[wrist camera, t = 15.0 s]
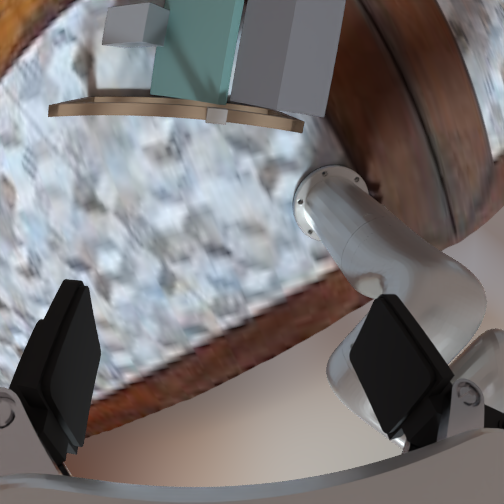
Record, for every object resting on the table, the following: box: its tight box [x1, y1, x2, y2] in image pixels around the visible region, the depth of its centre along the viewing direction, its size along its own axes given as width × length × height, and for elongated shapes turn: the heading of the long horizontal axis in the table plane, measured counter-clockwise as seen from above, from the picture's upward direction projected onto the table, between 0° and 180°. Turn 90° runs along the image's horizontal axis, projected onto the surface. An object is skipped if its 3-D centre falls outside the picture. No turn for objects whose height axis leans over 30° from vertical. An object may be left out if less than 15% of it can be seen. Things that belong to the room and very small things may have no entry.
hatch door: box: [150, 0, 346, 117], centre depth 28 cm, size 22×18×8 cm
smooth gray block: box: [102, 2, 170, 48], centre depth 29 cm, size 5×5×6 cm
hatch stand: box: [48, 96, 304, 133], centre depth 27 cm, size 26×21×14 cm
